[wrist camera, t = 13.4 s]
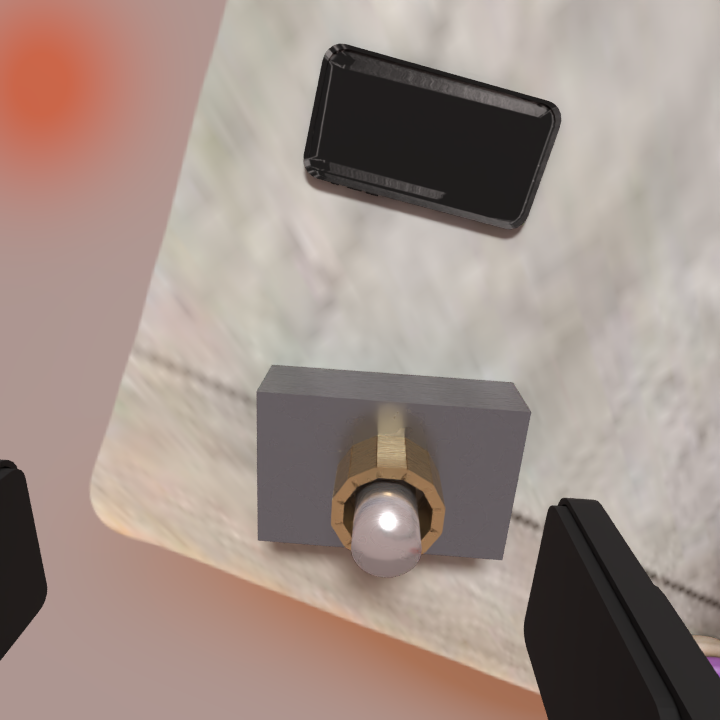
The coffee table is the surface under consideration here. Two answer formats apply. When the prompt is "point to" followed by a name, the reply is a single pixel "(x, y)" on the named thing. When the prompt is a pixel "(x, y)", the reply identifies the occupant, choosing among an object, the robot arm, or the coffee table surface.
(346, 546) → the bronze ring
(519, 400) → the grey peg board
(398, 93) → the phone
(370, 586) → the coffee table surface
